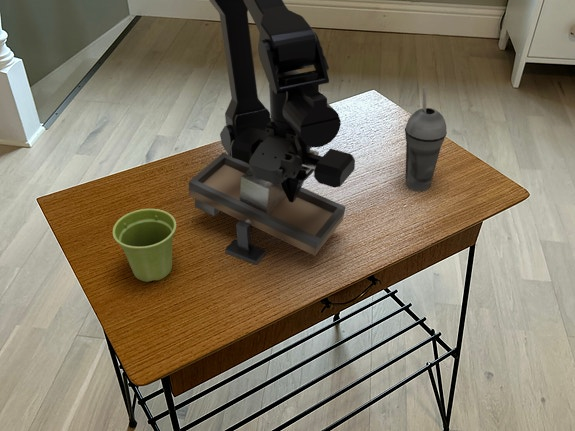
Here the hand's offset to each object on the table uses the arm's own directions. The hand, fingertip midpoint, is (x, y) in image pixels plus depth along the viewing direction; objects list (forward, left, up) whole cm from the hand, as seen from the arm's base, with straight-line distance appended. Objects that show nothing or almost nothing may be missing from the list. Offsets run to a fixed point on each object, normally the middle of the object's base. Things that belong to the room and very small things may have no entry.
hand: (292, 200), depth 97 cm
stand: (-5, 0, -8) cm, 10 cm away
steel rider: (-6, 0, -2) cm, 6 cm away
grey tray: (-6, 0, -6) cm, 9 cm away
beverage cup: (+13, +25, -8) cm, 29 cm away
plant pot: (-16, -17, -8) cm, 25 cm away
